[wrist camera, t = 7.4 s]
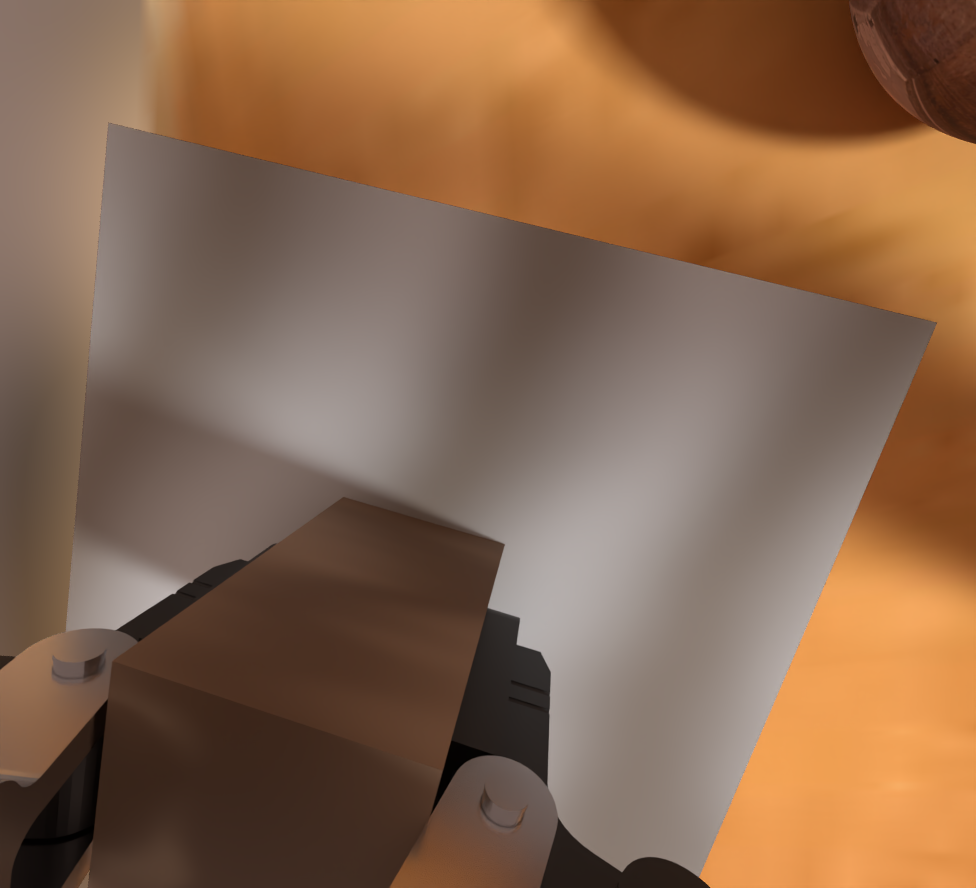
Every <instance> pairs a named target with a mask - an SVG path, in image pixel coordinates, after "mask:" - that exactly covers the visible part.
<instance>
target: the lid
mask: <svg viewBox="0 0 976 888" xmlns="http://www.w3.org/2000/svg"><path fill="white" fill-rule="evenodd" d="M94 290H95V291H94V301H93V313H92V325H91V338H90V349H89V361H88V373H87V385H86V397H85V409H84V421H83V432H82V444H81V457H80V468H79V480H78V493H77V504H76V516H75V528H74V540H73V552H72V563H71V575H70V587H69V599H68V611H67V623H66V632H68V631H72V630H79V629H89V628H103V629H112V630H117V629H118V628H120V627H121V626H123V625H124V624H126V623H127V622H129V621H131V620H132V619H134V618H135V617H137V616H138V615H140V614H141V613H143V612H144V611H146V610H148V609H149V608H151V607H152V606H154V605H155V604H157V603H158V602H160V601H161V600H163V599H165V598H166V597H168V596H169V595H171V594H175V593H176V592H177V590H179V589H180V588H182V587H183V586H185V585H186V584H188V583H189V582H190V583H192V582H193V580H194V579H196V578H197V577H199V576H200V575H202V574H203V573H205V572H206V571H208V570H209V569H211V568H213V567H215V566H218V565H221V564H225V563H228V562H232V561H235V560H238V559H242V560H245V561H249V560H251V559H252V558H253V557H255V556H256V555H258V554H259V553H261V552H262V551H263V550H265V549H266V548H268V547H269V546H271V545H272V544H275V543H277V544H276V545H275V546H273V547H272V548H271V549H269V550H268V551H266V552H265V553H264V554H262V555H261V556H259V557H258V558H256V559H255V560H254V561H252V562H251V563H249V564H248V565H247V566H245V567H244V568H242V569H241V570H240V571H238V572H237V573H235V574H234V575H233V576H231V577H230V578H228V579H227V580H225V581H224V582H223V583H221V584H220V585H218V586H217V587H216V588H214V589H213V590H211V591H210V592H209V593H207V594H206V595H204V596H203V597H202V598H200V599H199V600H197V601H196V602H194V603H193V604H192V605H190V606H189V607H187V608H186V609H185V610H183V611H182V612H180V613H179V614H178V615H176V616H175V617H173V618H172V619H171V620H169V621H168V622H166V623H165V624H163V625H162V626H161V627H159V628H158V629H156V630H155V631H154V632H152V633H151V634H149V635H148V636H147V637H145V638H144V639H142V640H141V641H140V642H138V643H137V644H135V645H134V646H132V647H131V648H130V649H128V650H127V651H125V652H124V653H123V654H121V655H120V656H118V657H117V658H116V659H114V660H113V661H112V667H111V676H110V685H109V695H108V704H107V713H106V723H105V732H104V741H103V751H102V760H101V769H100V779H99V788H98V797H97V807H96V816H95V825H94V835H93V844H92V854H91V863H90V873H89V882H88V888H390V886H391V884H392V882H393V881H394V879H395V877H396V875H397V874H398V872H399V870H400V869H401V867H402V865H403V863H404V862H405V860H406V858H407V856H408V855H409V853H410V851H411V849H412V848H413V846H414V844H415V842H416V841H417V839H418V837H419V836H420V834H421V832H422V830H423V829H424V827H425V825H426V823H427V822H428V820H429V818H430V815H431V811H432V808H433V804H434V800H435V797H436V793H437V790H438V786H439V782H440V779H441V775H442V772H443V768H444V764H445V761H446V757H447V753H448V750H449V746H450V743H451V739H452V735H453V732H454V728H455V724H456V721H457V717H458V713H459V710H460V706H461V702H462V699H463V695H464V692H465V688H466V684H467V681H468V677H469V673H470V670H471V666H472V662H473V659H474V655H475V652H476V648H477V644H478V641H479V637H480V633H481V630H482V626H483V622H484V619H485V615H486V612H487V608H490V609H493V610H496V611H500V612H503V613H506V614H509V615H513V616H516V617H519V618H520V624H519V631H518V638H517V645H520V646H523V647H526V648H529V649H533V650H536V651H539V652H541V654H542V656H543V658H544V660H545V662H546V664H547V666H548V668H549V669H550V671H551V685H550V710H549V714H550V718H549V752H548V789H549V791H550V793H551V794H552V796H553V799H554V801H555V804H556V808H557V813H558V818H559V819H560V821H561V822H562V824H563V825H564V827H565V828H566V829H567V830H568V831H569V832H570V834H571V835H572V836H573V837H574V838H575V839H576V840H578V841H579V842H580V843H581V844H582V845H583V846H585V847H586V848H587V849H589V850H590V851H591V852H593V853H594V854H596V855H597V856H599V857H600V858H602V859H603V860H605V861H606V862H608V863H609V864H611V865H612V866H613V867H615V868H616V869H618V870H619V871H621V872H623V870H624V869H625V868H626V866H627V865H629V864H630V863H631V862H632V861H634V860H637V859H639V858H644V857H658V858H662V859H666V860H669V861H672V862H674V863H677V864H679V865H680V866H682V867H684V868H686V869H688V870H689V871H691V872H692V873H693V874H695V875H696V876H698V877H699V876H700V874H701V871H702V869H703V867H704V864H705V862H706V860H707V857H708V855H709V853H710V850H711V848H712V846H713V843H714V841H715V839H716V836H717V834H718V832H719V829H720V827H721V825H722V822H723V820H724V818H725V815H726V813H727V811H728V808H729V806H730V804H731V801H732V799H733V797H734V794H735V792H736V790H737V787H738V785H739V783H740V780H741V778H742V776H743V773H744V771H745V769H746V766H747V764H748V762H749V759H750V757H751V755H752V752H753V750H754V748H755V746H756V743H757V741H758V739H759V736H760V734H761V732H762V729H763V727H764V725H765V722H766V720H767V718H768V715H769V713H770V711H771V708H772V706H773V704H774V701H775V699H776V697H777V694H778V692H779V690H780V687H781V685H782V683H783V680H784V678H785V676H786V673H787V671H788V669H789V666H790V664H791V662H792V659H793V657H794V655H795V652H796V650H797V648H798V645H799V643H800V641H801V638H802V636H803V634H804V631H805V629H806V627H807V624H808V622H809V620H810V617H811V615H812V613H813V610H814V608H815V606H816V603H817V601H818V599H819V596H820V594H821V592H822V590H823V587H824V585H825V583H826V580H827V578H828V576H829V573H830V571H831V569H832V566H833V564H834V562H835V559H836V557H837V555H838V552H839V550H840V548H841V545H842V543H843V541H844V538H845V536H846V534H847V531H848V529H849V527H850V524H851V522H852V520H853V517H854V515H855V513H856V510H857V508H858V506H859V503H860V501H861V499H862V496H863V494H864V492H865V489H866V487H867V485H868V482H869V480H870V478H871V475H872V473H873V471H874V468H875V466H876V464H877V461H878V459H879V457H880V454H881V452H882V450H883V447H884V445H885V443H886V440H887V438H888V436H889V434H890V431H891V429H892V427H893V424H894V422H895V420H896V417H897V415H898V413H899V410H900V408H901V406H902V403H903V401H904V399H905V396H906V394H907V392H908V389H909V387H910V385H911V382H912V380H913V378H914V375H915V373H916V371H917V368H918V366H919V364H920V361H921V359H922V357H923V354H924V352H925V350H926V347H927V345H928V343H929V340H930V338H931V336H932V333H933V331H934V329H935V326H936V324H937V322H932V321H928V320H924V319H920V318H916V317H912V316H908V315H903V314H899V313H895V312H891V311H887V310H883V309H879V308H874V307H870V306H866V305H862V304H858V303H854V302H850V301H845V300H841V299H837V298H833V297H829V296H825V295H821V294H816V293H812V292H808V291H804V290H800V289H796V288H792V287H787V286H783V285H779V284H775V283H771V282H767V281H763V280H758V279H754V278H750V277H746V276H742V275H738V274H733V273H729V272H725V271H721V270H717V269H713V268H709V267H704V266H700V265H696V264H692V263H688V262H684V261H680V260H675V259H671V258H667V257H663V256H659V255H655V254H651V253H646V252H642V251H638V250H634V249H630V248H626V247H622V246H617V245H613V244H609V243H605V242H601V241H597V240H593V239H588V238H584V237H580V236H576V235H572V234H568V233H564V232H559V231H555V230H551V229H547V228H543V227H539V226H535V225H530V224H526V223H522V222H518V221H514V220H510V219H506V218H501V217H497V216H493V215H489V214H485V213H481V212H477V211H472V210H468V209H464V208H460V207H456V206H452V205H448V204H443V203H439V202H435V201H431V200H427V199H423V198H418V197H414V196H410V195H406V194H402V193H398V192H394V191H389V190H385V189H381V188H377V187H373V186H369V185H365V184H360V183H356V182H352V181H348V180H344V179H340V178H336V177H331V176H327V175H323V174H319V173H315V172H311V171H307V170H302V169H298V168H294V167H290V166H286V165H282V164H278V163H273V162H269V161H265V160H261V159H257V158H253V157H249V156H244V155H240V154H236V153H232V152H228V151H224V150H220V149H215V148H211V147H207V146H203V145H199V144H195V143H191V142H186V141H182V140H178V139H174V138H170V137H166V136H162V135H157V134H153V133H149V132H145V131H141V130H137V129H133V128H128V127H124V126H120V125H115V124H112V123H109V124H108V134H107V146H106V158H105V170H104V183H103V194H102V206H101V218H100V230H99V241H98V253H97V265H96V278H95V289H94Z"/></svg>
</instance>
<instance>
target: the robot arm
mask: <svg viewBox="0 0 976 888" xmlns="http://www.w3.org/2000/svg"><path fill="white" fill-rule="evenodd" d="M276 544H277V543H275V544H272V545H271V546H269V547H268V548H266V549H265V550H263V551H262V552H261V553H259V554H258V555H256V556H255V557H253V558H252V559H251V560H249V561H245V560H242V559H238V560H235V561H232V562H228V563H225V564H221V565H218V566H215V567H213V568H211V569H209V570H208V571H206V572H205V573H203V574H202V575H200V576H199V577H197V578H196V579H194V580H193V582H192V583H190V582H189V583H188V584H186V585H185V586H183V587H182V588H180V589H179V590H177V592H176V593H175V594H171V595H169V596H168V597H166V598H165V599H163V600H161V601H160V602H158V603H157V604H155V605H154V606H152V607H151V608H149V609H148V610H146V611H144V612H143V613H141V614H140V615H138V616H137V617H135V618H134V619H132V620H131V621H129V622H127V623H126V624H124V625H123V626H121V627H120V628H118V629H117V630H112V629H103V628H89V629H79V630H72V631H68V632H63V633H59V634H56V635H53V636H50V637H48V638H46V639H43V640H41V641H39V642H37V643H35V644H33V645H32V646H30V647H29V648H27V649H26V650H24V651H23V652H22V653H20V654H19V655H18V656H17V657H12V656H0V888H78V887H79V886H80V884H81V883H82V881H83V879H84V878H85V876H86V875H87V873H88V871H89V870H90V863H91V854H92V844H93V835H94V825H95V816H96V807H97V797H98V788H99V779H100V769H101V760H102V751H103V741H104V732H105V723H106V713H107V704H108V695H109V685H110V676H111V667H112V661H113V660H114V659H116V658H117V657H118V656H120V655H121V654H123V653H124V652H125V651H127V650H128V649H130V648H131V647H132V646H134V645H135V644H137V643H138V642H140V641H141V640H142V639H144V638H145V637H147V636H148V635H149V634H151V633H152V632H154V631H155V630H156V629H158V628H159V627H161V626H162V625H163V624H165V623H166V622H168V621H169V620H171V619H172V618H173V617H175V616H176V615H178V614H179V613H180V612H182V611H183V610H185V609H186V608H187V607H189V606H190V605H192V604H193V603H194V602H196V601H197V600H199V599H200V598H202V597H203V596H204V595H206V594H207V593H209V592H210V591H211V590H213V589H214V588H216V587H217V586H218V585H220V584H221V583H223V582H224V581H225V580H227V579H228V578H230V577H231V576H233V575H234V574H235V573H237V572H238V571H240V570H241V569H242V568H244V567H245V566H247V565H248V564H249V563H251V562H252V561H254V560H255V559H256V558H258V557H259V556H261V555H262V554H264V553H265V552H266V551H268V550H269V549H271V548H272V547H273V546H275V545H276ZM519 624H520V618H519V617H516V616H513V615H509V614H506V613H503V612H500V611H496V610H493V609H490V608H487V612H486V615H485V619H484V622H483V626H482V630H481V633H480V637H479V641H478V644H477V648H476V652H475V655H474V659H473V662H472V666H471V670H470V673H469V677H468V681H467V684H466V688H465V692H464V695H463V699H462V702H461V706H460V710H459V713H458V717H457V721H456V724H455V728H454V732H453V735H452V739H451V743H450V746H449V750H448V753H447V757H446V761H445V764H444V768H443V772H442V775H441V779H440V782H439V786H438V790H437V793H436V797H435V800H434V804H433V808H432V811H431V815H430V818H429V820H428V822H427V823H426V825H425V827H424V829H423V830H422V832H421V834H420V836H419V837H418V839H417V841H416V842H415V844H414V846H413V848H412V849H411V851H410V853H409V855H408V856H407V858H406V860H405V862H404V863H403V865H402V867H401V869H400V870H399V872H398V874H397V875H396V877H395V879H394V881H393V882H392V884H391V886H390V888H710V887H709V886H708V885H707V884H706V883H705V882H704V881H702V880H701V879H700V878H699V877H698V876H696V875H695V874H693V873H692V872H691V871H689V870H688V869H686V868H684V867H682V866H680V865H679V864H677V863H674V862H672V861H669V860H666V859H662V858H658V857H644V858H639V859H637V860H634V861H632V862H631V863H630V864H629V865H627V866H626V868H625V869H624V870H623V872H621V871H619V870H618V869H616V868H615V867H613V866H612V865H611V864H609V863H608V862H606V861H605V860H603V859H602V858H600V857H599V856H597V855H596V854H594V853H593V852H591V851H590V850H589V849H587V848H586V847H585V846H583V845H582V844H581V843H580V842H579V841H578V840H576V839H575V838H574V837H573V836H572V835H571V834H570V832H569V831H568V830H567V829H566V828H565V827H564V825H563V824H562V822H561V821H560V819H559V818H558V813H557V808H556V804H555V801H554V799H553V796H552V794H551V793H550V791H549V789H548V752H549V718H550V714H549V710H550V685H551V671H550V669H549V668H548V666H547V664H546V662H545V660H544V658H543V656H542V654H541V652H539V651H536V650H533V649H529V648H526V647H523V646H520V645H517V638H518V631H519Z"/></svg>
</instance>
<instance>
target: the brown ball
mask: <svg viewBox="0 0 976 888" xmlns="http://www.w3.org/2000/svg"><path fill="white" fill-rule="evenodd" d="M849 6H850V13H851V18H852V22H853V27H854V30H855V33H856V37H857V40H858V43H859V46H860V48H861V50H862V53H863V55H864V57H865V59H866V61H867V63H868V65H869V67H870V69H871V71H872V72H873V74H874V75H875V77H876V78H877V80H878V81H879V83H880V84H881V85H882V87H883V88H884V89H885V90H886V92H887V93H888V94H889V95H890V96H891V97H892V98H893V99H894V100H895V101H896V102H897V103H898V104H899V105H900V106H901V107H903V108H904V109H905V110H906V111H907V112H909V113H910V114H911V115H913V116H914V117H916V118H917V119H919V120H920V121H922V122H923V123H925V124H927V125H928V126H930V127H932V128H934V129H936V130H938V131H940V132H943V133H945V134H947V135H950V136H952V137H955V138H958V139H961V140H964V141H967V142H971V143H974V144H976V0H849Z"/></svg>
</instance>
